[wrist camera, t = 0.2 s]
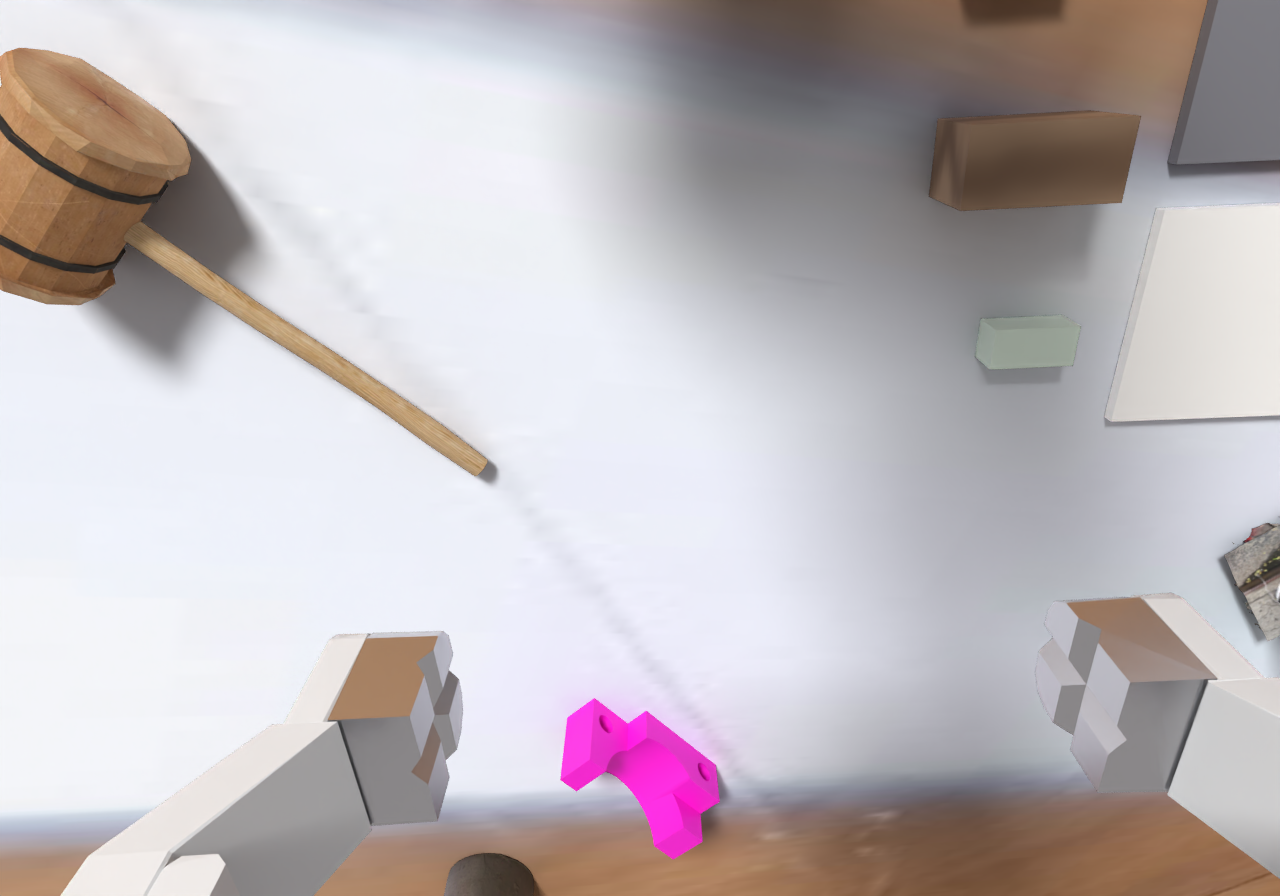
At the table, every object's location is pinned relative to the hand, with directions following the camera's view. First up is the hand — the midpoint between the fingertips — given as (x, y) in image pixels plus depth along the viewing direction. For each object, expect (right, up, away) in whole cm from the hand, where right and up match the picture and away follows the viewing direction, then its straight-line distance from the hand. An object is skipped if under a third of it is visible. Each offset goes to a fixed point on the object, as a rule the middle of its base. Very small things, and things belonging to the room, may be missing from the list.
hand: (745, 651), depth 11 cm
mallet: (-28, +14, +48) cm, 57 cm away
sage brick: (+27, +11, +48) cm, 56 cm away
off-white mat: (+43, +13, +47) cm, 65 cm away
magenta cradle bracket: (-1, -27, +67) cm, 72 cm away
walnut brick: (+24, +23, +42) cm, 53 cm away
